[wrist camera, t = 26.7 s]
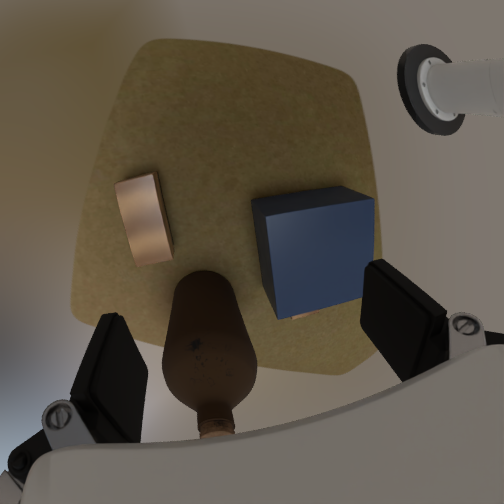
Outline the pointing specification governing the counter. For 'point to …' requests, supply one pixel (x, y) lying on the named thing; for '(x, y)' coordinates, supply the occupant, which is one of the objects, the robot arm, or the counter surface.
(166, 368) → the olive oil
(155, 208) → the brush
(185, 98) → the counter surface
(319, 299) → the blue drawer box
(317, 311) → the coaster
